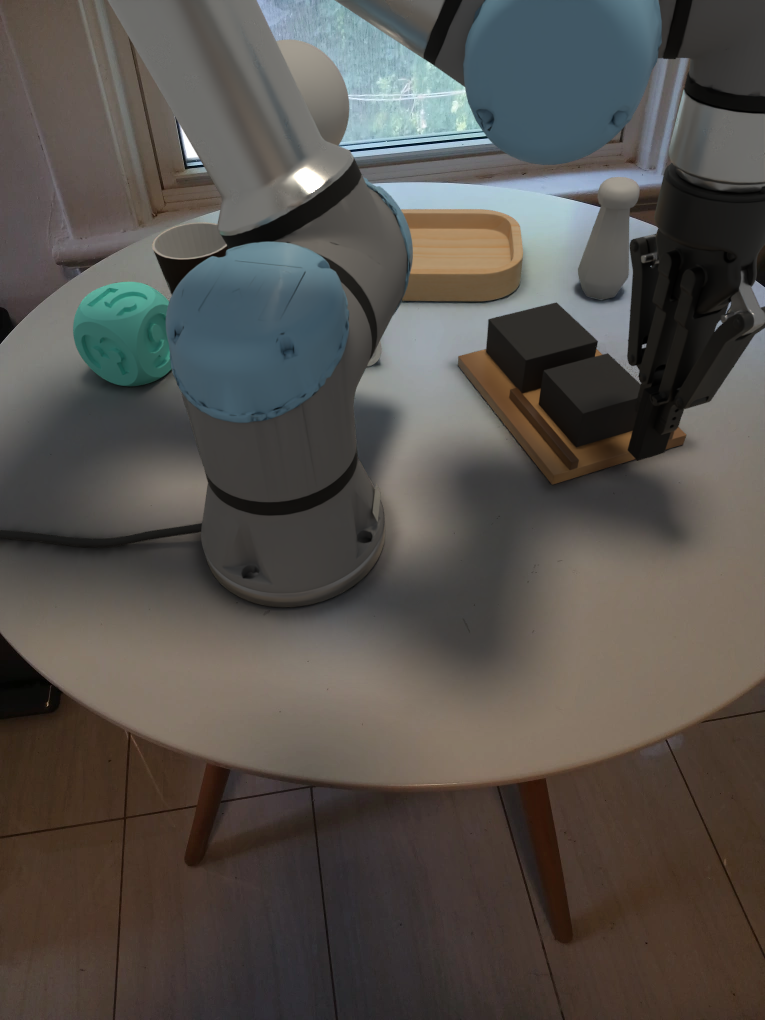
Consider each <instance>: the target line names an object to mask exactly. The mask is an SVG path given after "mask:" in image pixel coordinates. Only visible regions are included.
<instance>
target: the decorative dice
mask: <svg viewBox="0 0 765 1020" xmlns="http://www.w3.org/2000/svg"><path fill="white" fill-rule="evenodd" d="M169 301H170V300H168V299H167V297H166V296H165V295H164V294H162V293H161V292H160V291H158V290H157V289H155V288H154V287H152V286H151V285H148V284H146V283H143V282H138V281H120V282H114V283H109V284H105V285H103V286H100V287H98V288H95V289H94V290H92V291H91V292H89V293H87V294H86V295H85V297H83V298H82V300H81V302H80V303H79V305H78V306H77V309H76V311H75V314H74V318H73V322H72V323H73V324H72V334H73V341H74V345H75V348H76V350H77V352H78V354H79V356H80V357H81V358H82V360H83V362H84V363H85V364H86V365H87V366H88V368H89V369H90V370H92V372H94V373H95V374H96V375H97V376H98V377H100V378H101V379H103V380H105V381H106V382H108V383H111V384H112V385H113V384H114V385H116V386H122V387H139V386H145V385H149V384H150V383H153V382H156V381H158V380H160V379H162V378H163V377H165V376H166V375H167V374H168V373H169V372H170V371H172V368H171V360H170V351H169V343H168V338H167V333H166V312H167V308H168V304H169Z"/></svg>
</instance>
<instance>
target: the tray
mask: <svg viewBox="0 0 765 1020" xmlns="http://www.w3.org/2000/svg"><path fill="white" fill-rule="evenodd" d="M599 355H603V353H602V352H601V351H600V350H598V349H596V354H595V357H596V356H599ZM457 366H458V367H459V369H460V370H461V371H462V372H463V374H464V375H465V376H466V378H467V379H468V381H470V383H471V384H472V385H473V387H474V388H475V389H476V390H477V392H479V394H480V396H481V397H482V398H483V399H484V401H485V402H486V403H487V404H488V406H489V407H490V408H491V409H492V411H494V413H495V414H496V416H497V417H498V418H499V420H501V422H502V423H503V425H504V426H505V427H506V428H507V429H508V432H510V433H511V435H512V436H513V437H514V438H515V440H516V441H517V442H518V443H519V445H520V446H521V448H522V449H523V450H524V451H525V453H526V454H527V455H528V456H529V458H531V460H532V462H533V463H534V464H535V465H536V466H537V467H538V469H539V470H540V471H541V473H542V474H543V476H545V478H546V479H547V480H548V481H549V483H550V484H551V485H556V484H559V483H563V482H565V481H569V480H572V479H576V478H579V477H582V476H585V475H588V474H591V473H595V472H598V471H601V470H605V469H608V468H611V467H614V466H617V465H621V464H624V463H627V462H631V461H634V460H636V459H635V458H634V457H633V456H632V455H631V454H630V452H629V451H628V446H629V442H630V439H631V435H632V431H630V432H627V433H623V434H620V435H617V436H613V437H610V438H607V439H603V440H600V441H596V442H593V443H590V444H586V445H583V446H580V447H575V446H574V445H573V443H572V442H571V441H570V440H569V439H568V438H567V436H566V435H565V434H564V433H563V432H562V431H561V429H560V428H559V427H558V426H557V425H556V424H555V423H554V421H553V420H552V419H551V418H550V417H549V416H548V414H547V413H546V412H545V411H544V410H543V409H542V407H541V406H540V405H539V397H540V391H541V388H540V389H536V390H533V391H529V392H525V393H521V391H520V390H519V389H518V388H517V387H516V386H515V385H514V384H513V383H512V382H511V380H510V379H509V378H508V377H507V376H506V375H505V373H504V372H503V371H502V370H501V369H500V368H499V366H498V365H497V364H496V363H495V362H494V360H493V359H492V358H491V357H490V356H489V355H488V353H487V352H486V348H485V349H481V350H476V351H473V352H469V353H464V354H462V355H458V356H457ZM686 439H687V434H686V433H685V431H683V430H682V429H681V428H680V427H679V426H678V428H677V429H676V430H675V431H672V432H671V434H670V437H669V440H668V443H667V447H666V450H670V449H672V448H676V447H679V446H682V445H684V444H685V441H686Z"/></svg>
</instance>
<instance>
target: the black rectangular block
mask: <svg viewBox="0 0 765 1020" xmlns="http://www.w3.org/2000/svg"><path fill="white" fill-rule="evenodd" d="M602 354H603V353H602ZM640 385H641V382H640V381H639V380H637V379H636V378H635V377H634V376H633V375H632V374H630V373H629V372H628V371H627V370H626V369H625V368H624V367H623V366H622V365H621V364H620V363H619V362H618V361H617V360H616V359H615V358H614V357H613V356H612V355H611V354H609V353H608V352H607V353H604V354H603V355H599V356H596V357H592V358H588V359H584V360H581V361H577V362H573V363H569V364H566V365H562V366H558V367H554V368H551V369H547V370H544V371H543V377H542V384H541V391H540V397H539V405H540V406H541V407H542V409H543V410H544V411H545V412H546V413H547V414H548V416H549V417H550V418H551V419H552V420H553V421H554V423H555V424H556V425H557V426H558V427H559V428H560V429H561V431H562V432H563V433H564V434H565V435H566V436H567V438H568V439H569V440H570V441H571V442H572V443H573V445H574V446H575V447H580V446H583V445H586V444H590V443H593V442H596V441H600V440H603V439H607V438H610V437H613V436H617V435H620V434H623V433H627V432H630V431H633V428H634V424H635V420H636V416H637V412H636V411H635V404H636V401H637V397H638V393H639V389H640Z"/></svg>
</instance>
